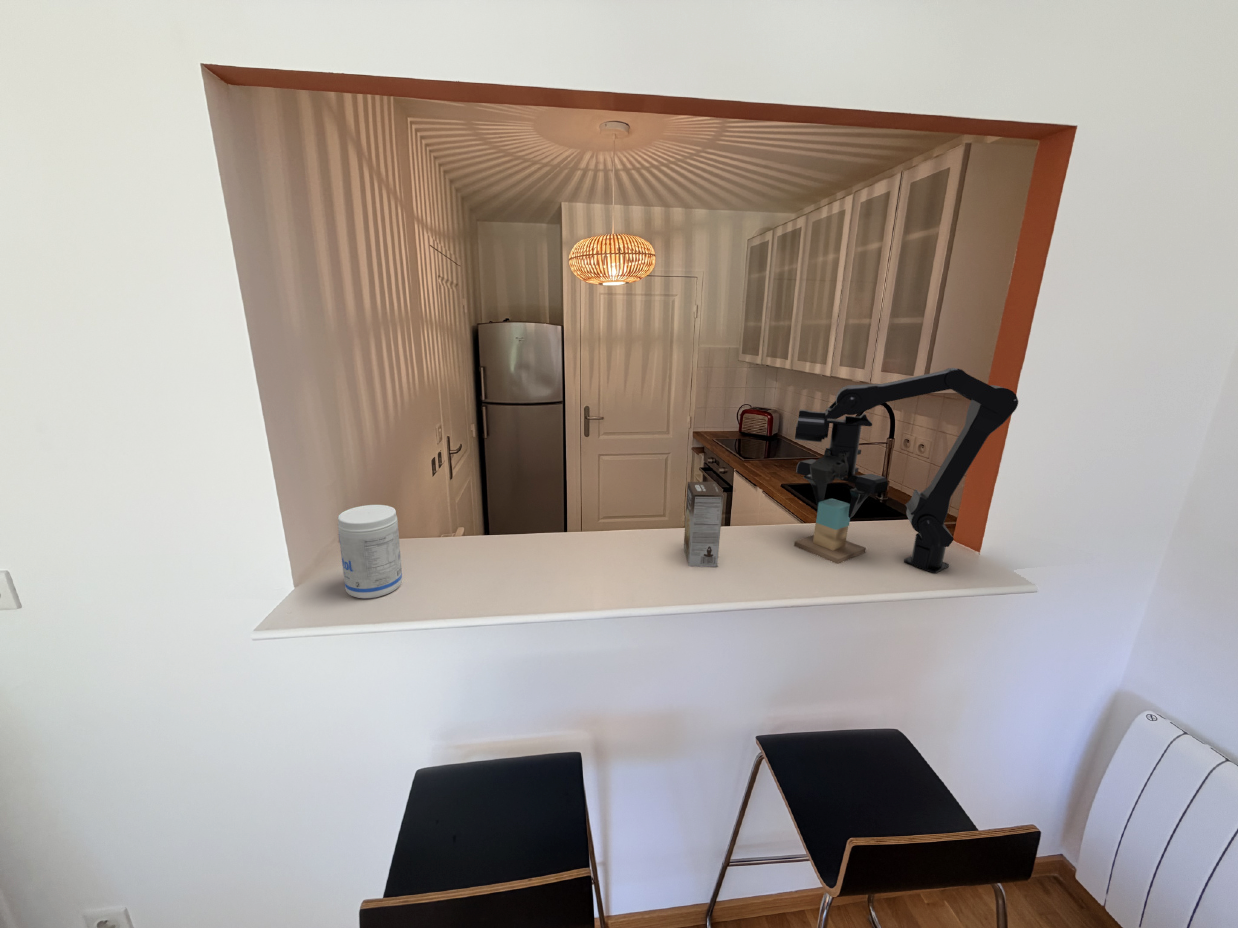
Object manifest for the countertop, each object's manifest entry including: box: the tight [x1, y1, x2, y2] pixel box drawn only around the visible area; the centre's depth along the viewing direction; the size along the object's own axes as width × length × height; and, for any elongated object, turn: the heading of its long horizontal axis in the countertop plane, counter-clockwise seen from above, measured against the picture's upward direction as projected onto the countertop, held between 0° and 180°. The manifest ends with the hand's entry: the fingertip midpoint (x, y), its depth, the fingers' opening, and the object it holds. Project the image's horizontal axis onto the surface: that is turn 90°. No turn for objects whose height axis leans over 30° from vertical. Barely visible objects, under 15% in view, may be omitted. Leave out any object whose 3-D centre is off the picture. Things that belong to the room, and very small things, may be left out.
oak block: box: [813, 522, 849, 550], centre depth 112 cm, size 5×5×5 cm
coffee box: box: [683, 481, 724, 568], centre depth 104 cm, size 9×6×16 cm
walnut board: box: [793, 534, 867, 565], centre depth 113 cm, size 11×11×2 cm
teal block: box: [815, 498, 851, 530], centre depth 111 cm, size 5×5×5 cm
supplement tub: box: [337, 504, 403, 599], centre depth 89 cm, size 10×10×15 cm
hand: (834, 511), depth 110 cm, fingers open, 7 cm apart
